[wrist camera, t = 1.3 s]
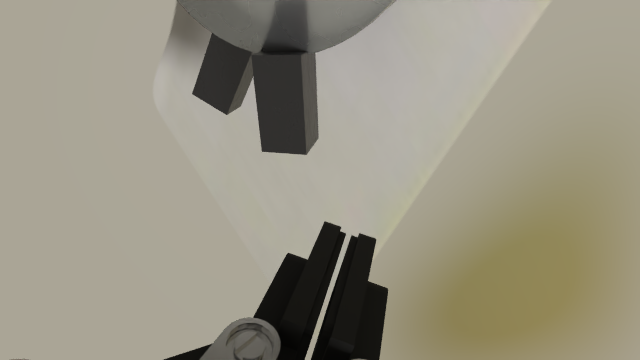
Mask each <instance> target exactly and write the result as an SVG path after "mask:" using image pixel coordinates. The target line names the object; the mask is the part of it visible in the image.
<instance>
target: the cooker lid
mask: <svg viewBox="0 0 640 360" xmlns="http://www.w3.org/2000/svg"><path fill="white" fill-rule="evenodd" d="M177 1H178V2H179V3H180V4H181V5H182V6H183V7H184V8H185V10H186V11H187V12H188V13H189V14H190V15H191V16H192V17H193V18H195V19H196V20H197V21H198V22H199V23H200V24H201V25H202V26H204V27H205V28H206V29H208V30H209V31H211V32H212V33H213V34H215V35H216V36H218V37H219V38H221V39H223V40H225V41H227V42H229V43H231V44H232V45H234V46H237V47H240V48H242V49H245V50H248V51H251V52H255V54H252V55H251V59H252V67H253V76H254V85H255V94H256V103H257V112H258V121H259V130H260V138H261V147H262V152H275V153H289V154H303V155H307V153H308V152H309V151H310V149H311V148H312V146H313V145H314V144H315V142H316V141H317V139H318V112H317V85H316V59H315V52H319V51H322V50H325V49H327V48H330V47H333V46H335V45H337V44H339V43H341V42H343V41H345V40H347V39H349V38H350V37H352V36H354V35H355V34H357V33H358V32H360V31H361V30H362V29H364V28H365V27H367V26H368V25H369V24H371V23H372V22H373V21H374V20H375V19H376V18H378V17H379V16H380V15H381V14H382V13H383V12H384V11H385V10H386V9H387V8H388V7H389V6H390V5H391V3H392V2H393V1H394V0H177Z"/></svg>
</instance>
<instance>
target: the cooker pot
mask: <svg viewBox="0 0 640 360" xmlns="http://www.w3.org/2000/svg"><path fill="white" fill-rule="evenodd" d="M395 1H396V0H394V1H393V2H392V3H391V5H392V4H393V3H394V2H395ZM391 5H390V6H391ZM390 6H389V7H390ZM389 7H388V8H389ZM252 54H255V52H251V51H248V50H245V49H242V48H240V47H237V46H234V45H232V44H231V43H229V42H227V41H225V40H223V39H221V38H219V37H218V36H216V35H215V34H213V33H212V35H211V39H210V42H209V45H208V48H207V51H206V54H205V57H204V60H203V63H202V66H201V69H200V72H199V75H198V78H197V81H196V84H195V87H194V90H193V93H192V94H193V95H195V96H196V97H198V98H200V99H201V100H203V101H205V102H206V103H208V104H210V105H211V106H213V107H214V108H216V109H218V110H219V111H221V112H223V113H224V114H226V115H228V114H229V113H231V112H232V111H234V110H236V109H237V108H239V107H240V106H241V104H242V102H243V100H244V97H245V95H246V92H247V90H248V88H249V85H250V83H251V80H252V78H253V67H252V59H251V55H252Z"/></svg>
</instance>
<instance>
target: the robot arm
mask: <svg viewBox="0 0 640 360" xmlns="http://www.w3.org/2000/svg"><path fill="white" fill-rule="evenodd" d="M340 229H341V227H340V226H337V225H334V224H331V223H328V222H324V224H323V227H322V229H321V231H320V233H319V236H318V238H317V240H316V242H315V245H314V247H313V249H312V252H311V254H310V256H309V258H308V260H307V259H304V258H301V257H299V256H296V255H293V254H290V253H288V254H287V255H286V257H285V258H284V260H283V262H282V264H281V266H280V268H279V270H278V272H277V274H276V275H275V277H274V279H273V281H272V283H271V285H270V287H269V289H268V291H267V292H266V294H265V296H264V298H263V300H262V302H261V304H260V306H259V308H258V309H257V312H256V313H255V315H254V317H253V318H250V317H248V318H243V319H239V320H236V321H234V322H232V323H231V324H230V325H229V326H227V327H226V328H225V329H224V330H223V332H222V333H221V334H220V335H219V337H218V338H217V339H216V340H215V341H214V343H213V344H210V345H207V346H204V347H201V348H198V349H195V350H192V351H189V352H186V353H183V354H179V355H176V356H173V357H170V358H167V359H164V360H305V357H306V354H307V351H308V348H309V345H310V342H311V339H312V336H313V333H314V330H315V327H316V324H317V321H318V318H319V315H320V312H321V309H322V305H323V302H324V299H325V296H326V293H327V290H328V287H329V284H330V281H331V278H332V275H333V272H334V269H335V266H336V263H337V260H338V257H339V254H340V251H341V248H342V245H343V242H344V239H345V236H346V233H343V232H340ZM375 243H376V239H375V238H372V237H369V236H366V235H363V234H360V233H359V236H358V237H355V236H351V239H350V242H349V245H348V247H347V250H346V253H345V256H344V259H343V262H342V265H341V268H340V271H339V274H338V277H337V280H336V283H335V286H334V289H333V292H332V295H331V298H330V301H329V304H328V307H327V310H326V313H325V316H324V320H323V323H322V326H321V329H320V332H319V336H318V339H317V342H316V345H315V348H314V351H313V355H312V358H311V360H379V357H380V350H381V342H382V334H383V327H384V319H385V311H386V303H387V296H388V289H387V288H385V287H382V286H380V285H377V284H374V283H371V282H369V281H368V277H369V272H370V268H371V263H372V258H373V253H374V248H375ZM12 360H27V359H12Z"/></svg>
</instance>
